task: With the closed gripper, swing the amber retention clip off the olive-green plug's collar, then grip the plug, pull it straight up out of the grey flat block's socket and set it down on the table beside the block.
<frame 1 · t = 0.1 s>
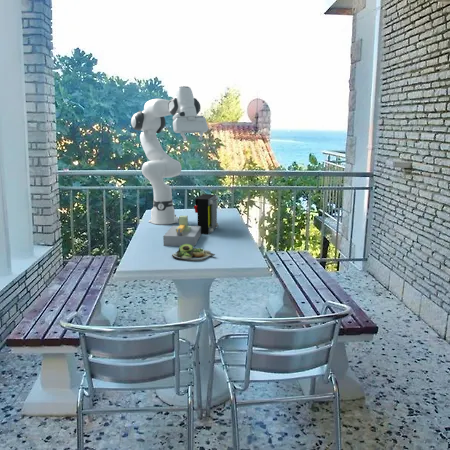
hand: (193, 140, 249), 52 cm above the table, tool tilted 20°, fingers open, 8 cm apart
salad plate: (191, 256, 218), on the table
plug: (183, 235, 248), point 2 cm above the table, touching grey flat block
grey flat block: (183, 240, 247), on the table
retention clip: (180, 230, 240), point 7 cm above the table, hinge at 0.0°
electrical component: (206, 231, 268), on the table
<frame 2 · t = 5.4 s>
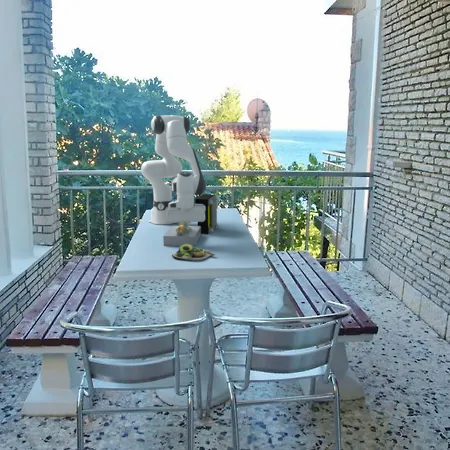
hand: (186, 229, 241), 7 cm above the table, tool pointing down, fingers closed
retention clip: (180, 230, 240), point 7 cm above the table, hinge at 0.7°, touching gripper
everything else where it was.
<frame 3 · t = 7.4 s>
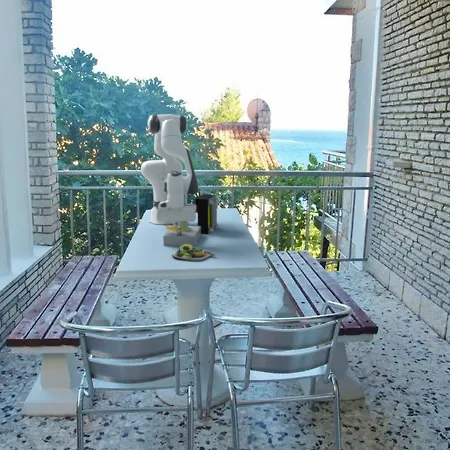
hand: (176, 229, 241), 7 cm above the table, tool pointing down, fingers closed
retention clip: (174, 230, 239), point 7 cm above the table, hinge at 46.9°, touching gripper
everything else where it was.
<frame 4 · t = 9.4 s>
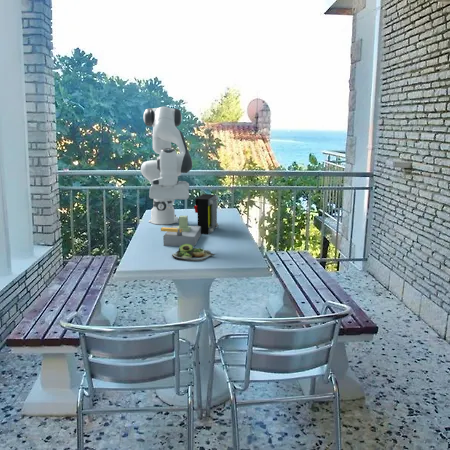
hand: (169, 207, 237), 19 cm above the table, tool pointing down, fingers closed
retention clip: (171, 231, 237), point 7 cm above the table, hinge at 79.9°
everything else where it was.
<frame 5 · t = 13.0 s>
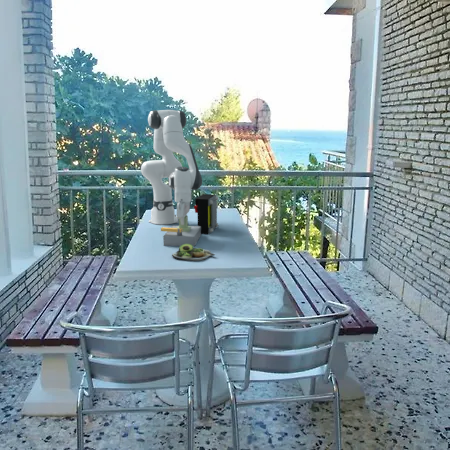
hand: (183, 223, 247), 9 cm above the table, tool pointing down, fingers closed on plug, 4 cm apart
plug: (183, 235, 248), point 2 cm above the table, touching gripper, grey flat block
everything else where it was.
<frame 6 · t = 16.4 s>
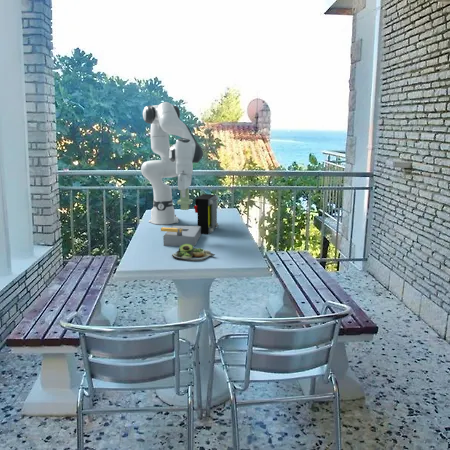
hand: (184, 196, 243), 23 cm above the table, tool pointing down, fingers closed on plug, 4 cm apart
plug: (185, 209, 245), point 16 cm above the table, touching gripper
everything else where it was.
when the fingers open (9 cm above the table, at t = 20.3 s): plug drops 2 cm, on the table.
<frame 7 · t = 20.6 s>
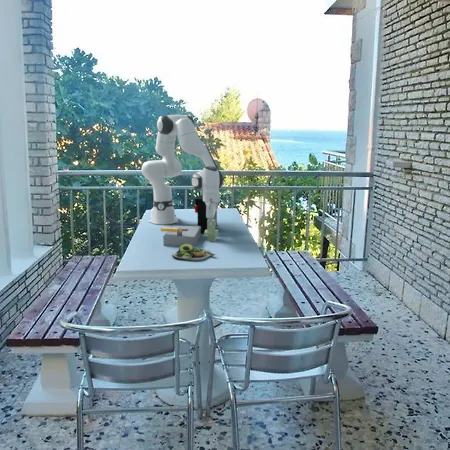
hand: (211, 223, 246), 9 cm above the table, tool pointing down, fingers open, 7 cm apart
plug: (211, 239, 248), on the table
everything else where it was.
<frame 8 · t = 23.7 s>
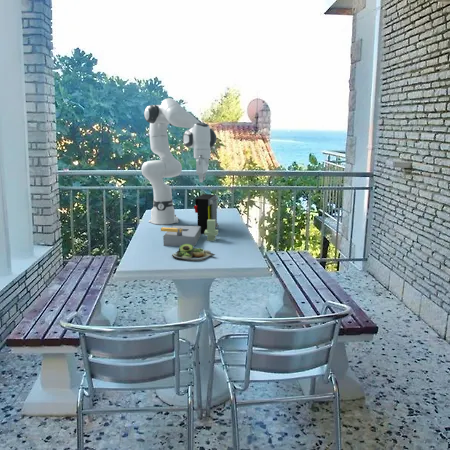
hand: (202, 181, 244), 31 cm above the table, tool pointing down, fingers open, 8 cm apart
nothing on the table moved.
at the end: retention clip at +80° (first picture: +0°); plug inside the target area (1.5 cm from its centre), on the table; the gripper is holding nothing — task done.
